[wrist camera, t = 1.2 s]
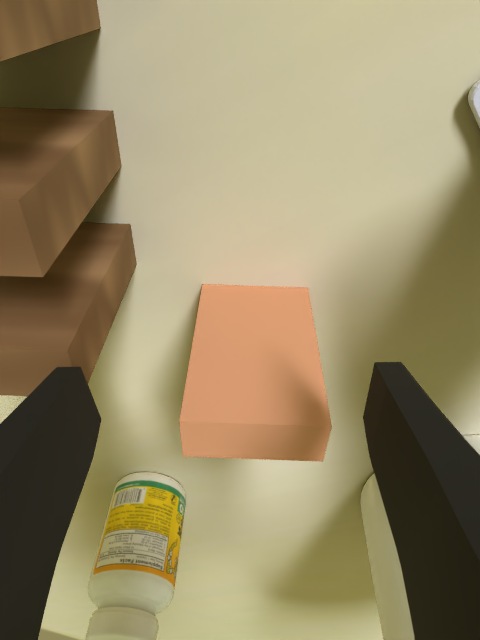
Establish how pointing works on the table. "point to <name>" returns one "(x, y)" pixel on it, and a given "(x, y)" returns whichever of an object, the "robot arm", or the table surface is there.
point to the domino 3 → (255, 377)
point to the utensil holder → (388, 561)
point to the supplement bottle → (136, 558)
